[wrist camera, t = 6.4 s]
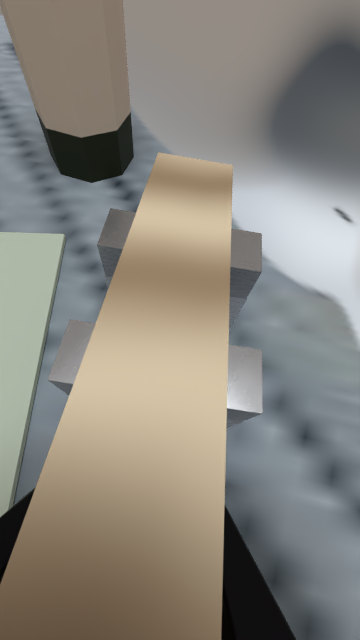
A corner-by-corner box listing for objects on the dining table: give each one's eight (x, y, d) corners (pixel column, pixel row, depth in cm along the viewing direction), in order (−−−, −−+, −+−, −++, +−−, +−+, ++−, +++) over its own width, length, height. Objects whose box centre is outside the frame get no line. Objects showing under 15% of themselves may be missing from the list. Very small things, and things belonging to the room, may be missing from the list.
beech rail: (178, 628, 8) (217, 777, 3) (54, 609, 8) (-57, 739, 3) (211, 248, 17) (232, 165, 13) (155, 239, 17) (158, 152, 12)
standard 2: (217, 431, 17) (263, 413, 10) (91, 411, 17) (46, 379, 10) (220, 391, 18) (263, 350, 11) (102, 373, 18) (68, 319, 11)
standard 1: (224, 337, 20) (262, 272, 13) (116, 320, 20) (96, 244, 13) (225, 308, 21) (262, 233, 14) (124, 292, 21) (109, 208, 14)
